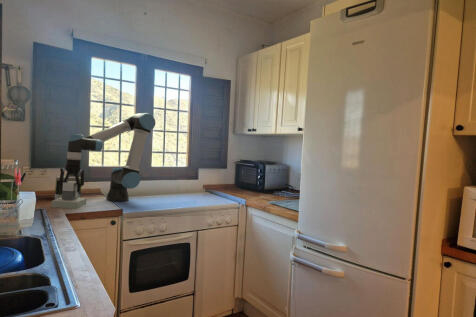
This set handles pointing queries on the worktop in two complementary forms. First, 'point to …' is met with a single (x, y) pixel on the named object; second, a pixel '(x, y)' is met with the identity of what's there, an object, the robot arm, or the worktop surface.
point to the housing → (69, 190)
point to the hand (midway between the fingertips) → (70, 196)
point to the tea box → (59, 187)
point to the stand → (69, 203)
